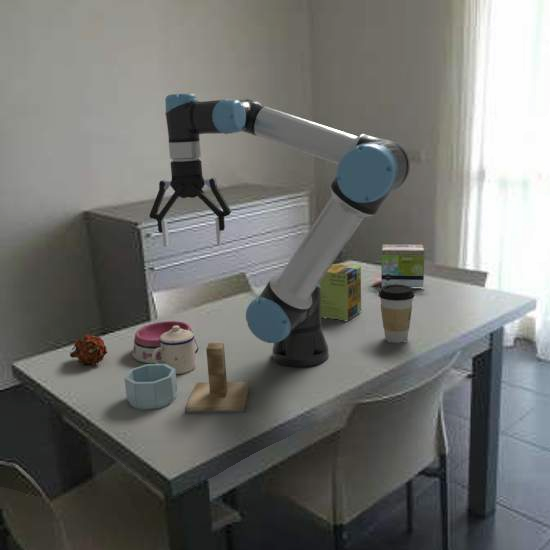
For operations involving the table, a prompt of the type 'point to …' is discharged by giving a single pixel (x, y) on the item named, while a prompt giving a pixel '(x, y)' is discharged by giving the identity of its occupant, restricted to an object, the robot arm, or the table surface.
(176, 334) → the teacup with lid
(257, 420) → the table surface
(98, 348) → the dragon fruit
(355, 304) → the protein box
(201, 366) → the table surface
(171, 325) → the dog bowl
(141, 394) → the ceramic bowl
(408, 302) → the coffee cup
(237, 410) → the slate mat
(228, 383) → the oak lid
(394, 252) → the tea box
